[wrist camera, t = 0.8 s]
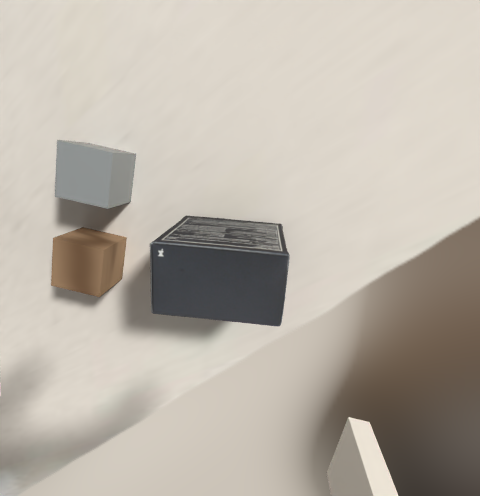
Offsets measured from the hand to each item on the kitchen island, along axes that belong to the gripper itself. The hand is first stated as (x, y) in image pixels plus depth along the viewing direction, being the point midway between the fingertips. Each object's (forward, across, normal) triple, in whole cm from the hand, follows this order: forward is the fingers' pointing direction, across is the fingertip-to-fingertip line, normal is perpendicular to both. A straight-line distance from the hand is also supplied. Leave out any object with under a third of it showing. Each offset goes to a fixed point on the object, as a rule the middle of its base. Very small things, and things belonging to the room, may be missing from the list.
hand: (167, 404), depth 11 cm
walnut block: (+23, -14, -4) cm, 27 cm away
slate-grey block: (+23, -14, +5) cm, 27 cm away
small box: (+23, 0, 0) cm, 23 cm away
